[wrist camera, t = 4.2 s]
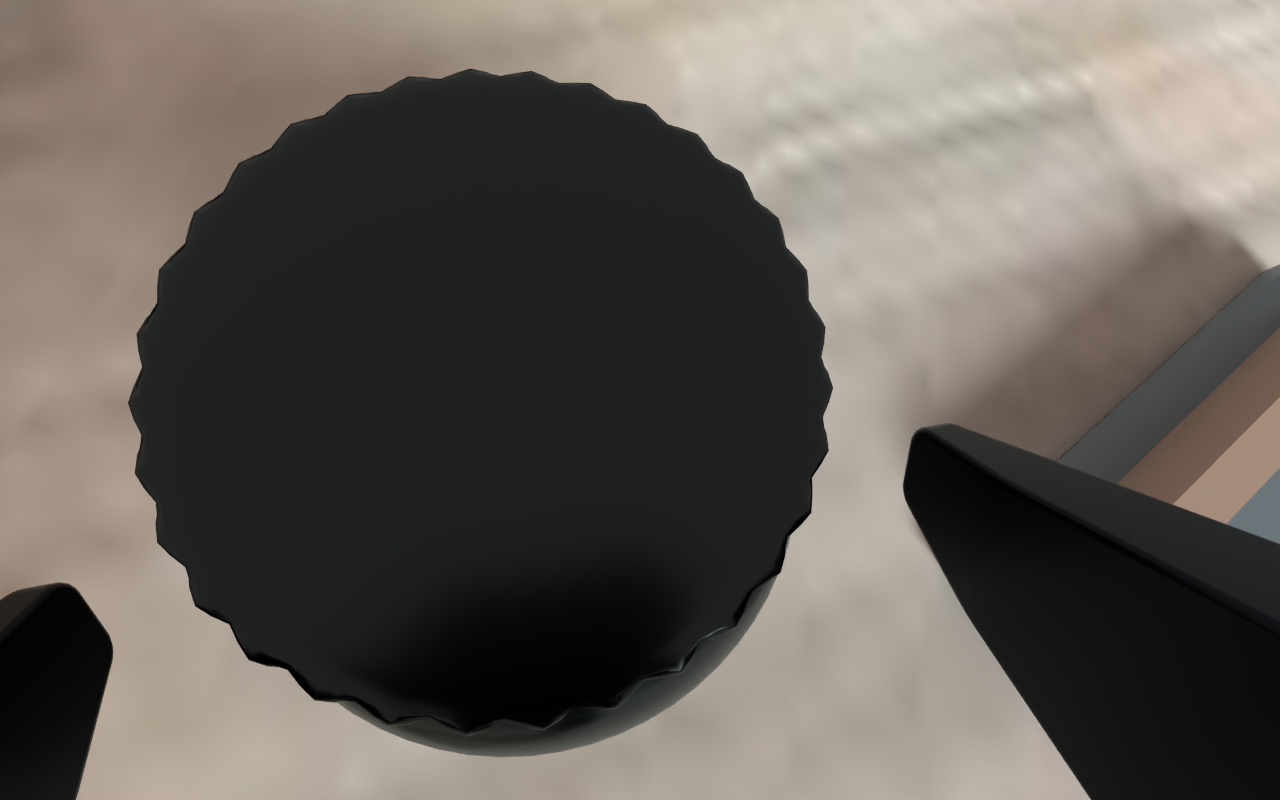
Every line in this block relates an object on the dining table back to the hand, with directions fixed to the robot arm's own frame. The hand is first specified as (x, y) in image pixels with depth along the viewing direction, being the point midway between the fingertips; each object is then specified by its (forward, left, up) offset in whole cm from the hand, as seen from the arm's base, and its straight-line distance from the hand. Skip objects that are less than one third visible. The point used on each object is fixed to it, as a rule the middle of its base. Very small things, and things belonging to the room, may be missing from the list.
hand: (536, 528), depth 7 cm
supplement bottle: (0, +1, -9) cm, 9 cm away
